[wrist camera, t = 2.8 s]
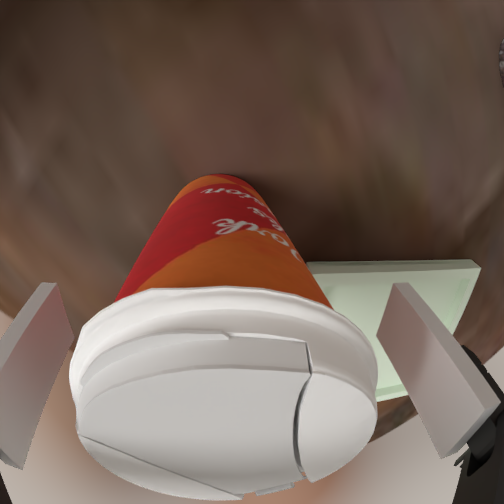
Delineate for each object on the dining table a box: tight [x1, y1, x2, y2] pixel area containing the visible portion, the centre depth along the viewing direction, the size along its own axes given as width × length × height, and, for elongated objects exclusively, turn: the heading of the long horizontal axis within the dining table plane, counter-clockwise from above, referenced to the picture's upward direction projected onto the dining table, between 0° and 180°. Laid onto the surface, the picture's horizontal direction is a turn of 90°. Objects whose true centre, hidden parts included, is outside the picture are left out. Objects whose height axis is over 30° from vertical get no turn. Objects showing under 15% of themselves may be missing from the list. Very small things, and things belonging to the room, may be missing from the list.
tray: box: [306, 259, 481, 402], centre depth 25 cm, size 16×16×2 cm
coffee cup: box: [69, 174, 378, 500], centre depth 13 cm, size 8×8×15 cm
